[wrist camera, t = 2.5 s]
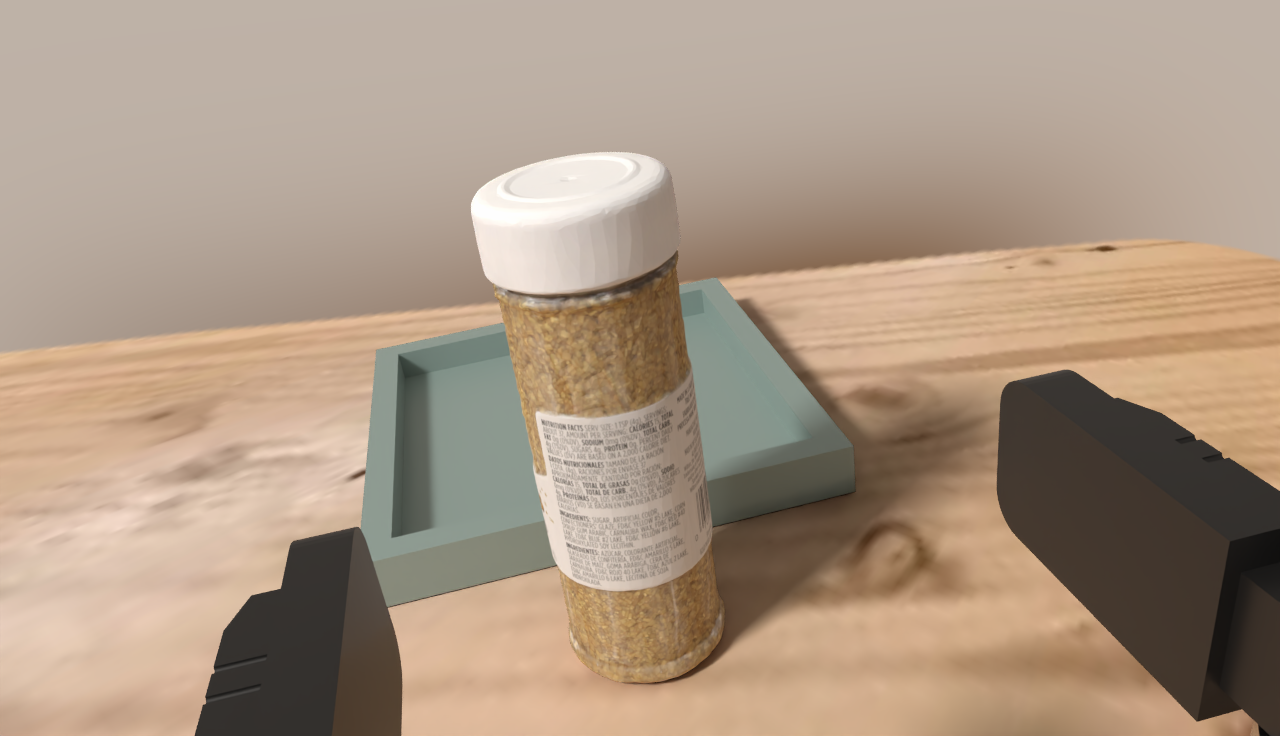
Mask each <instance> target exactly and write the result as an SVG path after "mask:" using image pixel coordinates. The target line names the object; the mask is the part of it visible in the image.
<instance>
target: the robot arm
mask: <svg viewBox="0 0 1280 736" xmlns="http://www.w3.org/2000/svg"><path fill="white" fill-rule="evenodd" d="M997 496H998V501H999V505H1000V508H1001V511H1002V514H1003V516H1004V518H1005V521H1006V522H1007V524H1008V526H1009V528H1010V529H1011V531H1012V532H1013V533H1014V534H1015V535H1016V537H1017V538H1018V539H1019V540H1020V541H1021V542H1022V543H1023V544H1024V545H1025V546H1026V547H1027V548H1028V549H1029V550H1030V551H1031V552H1032V553H1033V554H1034V555H1035V556H1036V557H1037V558H1038V559H1039V560H1040V561H1041V562H1042V563H1043V564H1044V565H1045V566H1046V567H1047V568H1048V569H1049V570H1050V571H1051V572H1052V573H1053V575H1054V576H1055V577H1056V578H1057V579H1058V580H1059V581H1060V582H1061V583H1062V584H1063V585H1064V586H1065V587H1066V588H1067V589H1068V590H1069V591H1070V592H1071V593H1072V594H1073V595H1074V596H1075V597H1076V598H1077V599H1078V600H1079V601H1080V602H1081V603H1082V604H1083V605H1084V606H1085V607H1086V608H1087V609H1088V610H1089V611H1090V612H1091V613H1092V614H1093V616H1094V617H1095V618H1096V619H1097V620H1098V621H1099V622H1100V623H1101V624H1102V625H1103V626H1104V627H1105V628H1106V629H1107V630H1108V631H1109V632H1110V633H1111V634H1112V635H1113V636H1114V637H1115V638H1116V639H1117V640H1118V641H1119V642H1120V643H1121V644H1122V645H1123V646H1124V647H1125V648H1126V649H1127V650H1128V651H1129V652H1130V653H1131V654H1132V655H1133V657H1134V658H1135V659H1136V660H1137V661H1138V662H1139V663H1140V664H1141V665H1142V666H1143V667H1144V668H1145V669H1146V670H1147V671H1148V672H1149V673H1150V674H1151V675H1152V676H1153V677H1154V678H1155V679H1156V680H1157V681H1158V682H1159V683H1160V684H1161V685H1162V686H1163V687H1164V688H1165V689H1166V690H1167V691H1168V692H1169V693H1170V694H1171V695H1172V696H1173V698H1174V699H1175V700H1176V701H1177V702H1178V703H1179V704H1180V705H1181V706H1182V707H1183V708H1184V709H1185V710H1186V711H1187V712H1188V713H1189V714H1190V715H1191V716H1192V717H1193V718H1194V719H1195V720H1196V721H1197V722H1198V721H1201V720H1205V719H1208V718H1212V717H1216V716H1219V715H1223V714H1226V713H1230V712H1233V711H1237V710H1240V709H1243V710H1244V711H1245V712H1246V713H1247V714H1248V715H1249V716H1250V717H1251V718H1252V719H1253V720H1254V721H1253V726H1252V730H1251V735H1250V736H1280V491H1279V490H1277V489H1276V488H1274V487H1273V486H1271V485H1270V484H1268V483H1267V482H1265V481H1264V480H1262V479H1261V478H1259V477H1258V476H1256V475H1254V474H1253V473H1251V472H1250V471H1248V470H1247V469H1245V468H1244V467H1242V466H1241V465H1239V464H1238V463H1236V462H1235V461H1233V460H1232V459H1230V458H1226V459H1224V458H1223V457H1222V453H1221V452H1220V451H1218V450H1217V449H1215V448H1213V447H1212V446H1210V445H1209V444H1207V443H1206V442H1204V441H1203V440H1196V439H1195V435H1194V434H1192V433H1191V432H1189V431H1188V430H1186V429H1185V428H1183V427H1182V426H1180V425H1179V424H1177V423H1176V422H1174V421H1173V420H1171V419H1169V418H1168V417H1166V416H1165V415H1163V414H1162V413H1159V412H1157V411H1154V410H1151V409H1148V408H1145V407H1142V406H1140V405H1137V404H1134V403H1131V402H1128V401H1125V400H1123V399H1120V398H1115V399H1114V398H1113V397H1111V396H1110V395H1108V394H1107V393H1105V392H1104V391H1102V390H1101V389H1099V388H1098V387H1097V386H1095V385H1094V384H1092V383H1091V382H1089V381H1088V380H1086V379H1085V378H1083V377H1082V376H1080V375H1079V374H1077V373H1076V372H1074V371H1071V370H1061V371H1057V372H1052V373H1048V374H1044V375H1039V376H1035V377H1030V378H1026V379H1021V380H1017V381H1013V382H1010V383H1008V384H1007V385H1006V386H1005V388H1004V390H1003V392H1002V395H1001V402H1000V422H999V445H998V467H997ZM214 670H215V673H214V674H212V675H211V678H210V682H209V686H208V689H207V693H206V696H205V698H206V704H205V705H203V707H202V711H201V714H200V718H199V722H198V725H197V729H196V732H195V736H401V722H402V669H401V661H400V654H399V648H398V643H397V639H396V635H395V631H394V627H393V624H392V621H391V618H390V615H389V612H388V608H387V605H386V602H385V599H384V596H383V593H382V589H381V586H380V583H379V580H378V577H377V574H376V570H375V567H374V564H373V561H372V558H371V555H370V551H369V548H368V545H367V542H366V539H365V537H364V535H363V533H362V531H361V529H360V528H359V527H354V528H350V529H345V530H341V531H336V532H332V533H327V534H323V535H318V536H314V537H309V538H305V539H301V540H296V541H293V542H292V543H291V545H290V548H289V553H288V558H287V562H286V567H285V572H284V577H283V582H282V586H281V589H278V590H274V591H269V592H265V593H261V594H256V595H252V596H251V597H250V598H249V599H248V601H247V602H246V603H245V604H244V606H243V607H242V608H241V609H240V611H239V612H238V613H237V615H236V616H235V617H234V618H233V620H232V621H231V622H230V623H229V625H228V626H227V627H226V629H225V630H224V631H223V635H222V639H221V642H220V646H219V649H218V653H217V657H216V660H215V664H214Z"/></svg>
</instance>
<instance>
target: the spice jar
mask: <svg viewBox="0 0 1280 736" xmlns="http://www.w3.org/2000/svg"><path fill="white" fill-rule="evenodd" d="M471 214H472V220H473V225H474V230H475V234H476V240H477V244H478V248H479V253H480V257H481V261H482V265H483V270H484V273H485V276H486V277H487V278H488V279H489V280H490V281H491V282H493V288H494V291H495V297H496V298H497V299H498V300H499V303H500V308H501V311H502V318H503V322H504V325H505V331H506V336H507V341H508V345H509V350H510V357H511V360H512V364H513V370H514V373H515V377H516V383H517V389H518V392H519V394H520V400H521V407H522V413H523V416H524V418H525V424H526V429H527V433H528V439H529V444H530V447H531V451H532V455H533V470H534V475H535V480H536V484H537V489H538V493H539V497H540V502H541V508H542V512H543V516H544V520H545V525H546V529H547V534H548V538H549V542H550V547H551V551H552V555H553V558H554V560H555V562H556V564H557V566H558V570H559V572H560V577H561V583H562V588H563V591H564V597H565V603H566V606H567V611H568V615H569V621H570V622H569V637H570V643H571V646H572V648H573V650H574V651H575V653H576V655H577V656H578V658H579V659H580V661H581V662H582V663H583V664H585V665H586V666H587V667H588V668H590V669H591V670H592V671H594V672H596V673H598V674H599V675H601V676H602V677H607V678H609V679H611V680H613V681H616V682H625V683H633V682H638V683H651V682H660V681H665V680H668V679H671V678H674V677H679V676H681V675H682V674H684V673H686V672H688V671H690V670H691V669H693V668H695V667H696V666H697V665H698V664H699V663H700V662H702V661H703V660H704V659H706V658H707V657H708V656H709V655H710V653H711V652H712V650H713V649H714V648H715V647H716V646H717V644H718V643H719V641H720V640H721V637H722V632H723V629H724V625H725V618H724V615H725V609H724V604H723V600H722V599H721V598H720V595H719V593H718V590H717V586H716V575H715V568H714V561H713V554H712V547H711V538H712V519H711V511H710V503H709V496H708V489H707V480H706V472H705V465H704V457H703V449H702V441H701V434H700V426H699V418H698V410H697V402H696V394H695V386H694V378H693V370H692V364H691V360H690V358H689V356H688V352H687V344H686V338H685V327H684V320H683V318H682V307H681V299H680V293H679V283H678V278H677V271H676V264H677V261H678V251H677V249H678V247H679V244H680V229H679V222H678V214H677V207H676V201H675V194H674V188H673V183H672V177H671V174H670V172H669V170H668V168H667V167H666V166H665V165H664V164H663V163H662V162H660V161H658V160H656V159H654V158H652V157H649V156H645V155H641V154H635V153H626V152H597V153H586V154H578V155H571V156H564V157H559V158H555V159H550V160H545V161H541V162H537V163H533V164H530V165H527V166H524V167H521V168H518V169H515V170H512V171H510V172H508V173H505V174H503V175H501V176H499V177H497V178H495V179H493V180H491V181H490V182H488V183H487V184H486V185H484V186H483V187H482V188H480V189H479V190H478V192H477V193H476V195H475V196H474V198H473V200H472V203H471Z"/></svg>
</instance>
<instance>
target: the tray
mask: <svg viewBox="0 0 1280 736" xmlns="http://www.w3.org/2000/svg"><path fill="white" fill-rule="evenodd" d="M679 293H680V299H681V307H682V318H683V320H684V327H685V338H686V344H687V352H688V356H689V358H690V360H691V364H692V370H693V378H694V386H695V394H696V402H697V410H698V418H699V426H700V434H701V441H702V449H703V457H704V465H705V472H706V480H707V489H708V496H709V503H710V511H711V519H712V527H714V526H718V525H722V524H726V523H730V522H734V521H738V520H742V519H746V518H750V517H754V516H758V515H762V514H766V513H770V512H774V511H778V510H783V509H787V508H791V507H795V506H799V505H803V504H807V503H811V502H815V501H819V500H823V499H827V498H831V497H835V496H839V495H843V494H847V493H851V492H855V467H854V446H853V445H852V443H851V442H850V441H849V440H848V438H847V437H846V436H845V435H844V434H843V432H842V431H841V430H840V429H839V427H838V426H837V425H836V424H835V422H834V421H833V420H832V419H831V418H830V416H829V415H828V414H827V413H826V411H825V410H824V409H823V408H822V407H821V405H820V404H819V403H818V402H817V400H816V399H815V398H814V397H813V396H812V394H811V393H810V392H809V391H808V389H807V388H806V387H805V386H804V384H803V383H802V382H801V381H800V380H799V378H798V377H797V376H796V375H795V373H794V372H793V371H792V370H791V369H790V367H789V366H788V365H787V364H786V362H785V361H784V360H783V359H782V358H781V356H780V355H779V354H778V353H777V351H776V350H775V349H774V348H773V346H772V345H771V344H770V343H769V342H768V340H767V339H766V338H765V337H764V335H763V334H762V333H761V332H760V331H759V329H758V328H757V327H756V326H755V324H754V323H753V322H752V321H751V319H750V318H749V317H748V316H747V315H746V313H745V312H744V311H743V310H742V308H741V307H740V306H739V305H738V304H737V302H736V301H735V300H734V299H733V297H732V296H731V295H730V294H729V293H728V291H727V290H726V289H725V288H724V286H723V285H722V284H721V283H720V281H719V280H718V279H717V278H711V279H707V280H702V281H697V282H693V283H688V284H683V285H679ZM361 531H362V533H363V535H364V537H365V539H366V542H367V545H368V548H369V551H370V555H371V558H372V561H373V564H374V567H375V570H376V574H377V577H378V580H379V583H380V586H381V589H382V593H383V596H384V599H385V602H386V605H387V607H390V606H394V605H398V604H402V603H406V602H410V601H414V600H418V599H422V598H426V597H430V596H434V595H438V594H442V593H446V592H450V591H454V590H458V589H462V588H467V587H471V586H475V585H479V584H483V583H487V582H491V581H495V580H499V579H503V578H507V577H511V576H515V575H519V574H523V573H527V572H531V571H535V570H539V569H544V568H548V567H552V566H556V565H557V564H556V562H555V560H554V558H553V555H552V551H551V547H550V542H549V538H548V534H547V529H546V525H545V520H544V516H543V512H542V508H541V502H540V497H539V493H538V489H537V484H536V480H535V475H534V470H533V455H532V451H531V447H530V444H529V439H528V433H527V429H526V424H525V418H524V416H523V413H522V407H521V400H520V394H519V392H518V389H517V383H516V377H515V373H514V370H513V364H512V360H511V357H510V350H509V345H508V341H507V336H506V331H505V325H504V323H500V324H495V325H491V326H486V327H481V328H477V329H472V330H467V331H463V332H458V333H453V334H449V335H444V336H439V337H434V338H430V339H425V340H420V341H416V342H411V343H406V344H402V345H397V346H392V347H388V348H383V349H378V350H376V360H375V372H374V383H373V395H372V406H371V418H370V429H369V440H368V452H367V463H366V475H365V486H364V497H363V509H362V520H361Z"/></svg>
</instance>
